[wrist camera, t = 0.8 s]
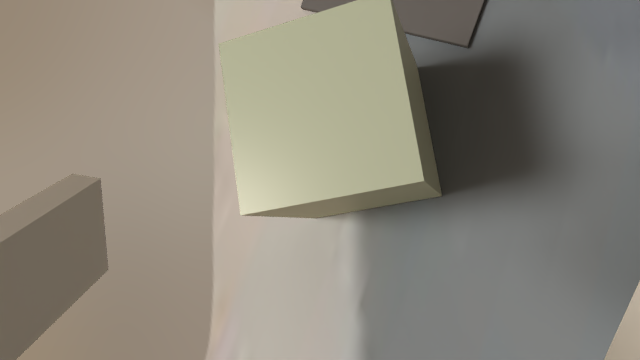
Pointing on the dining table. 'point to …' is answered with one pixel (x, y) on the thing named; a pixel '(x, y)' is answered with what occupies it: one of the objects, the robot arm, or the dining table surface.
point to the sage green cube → (328, 115)
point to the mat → (426, 17)
